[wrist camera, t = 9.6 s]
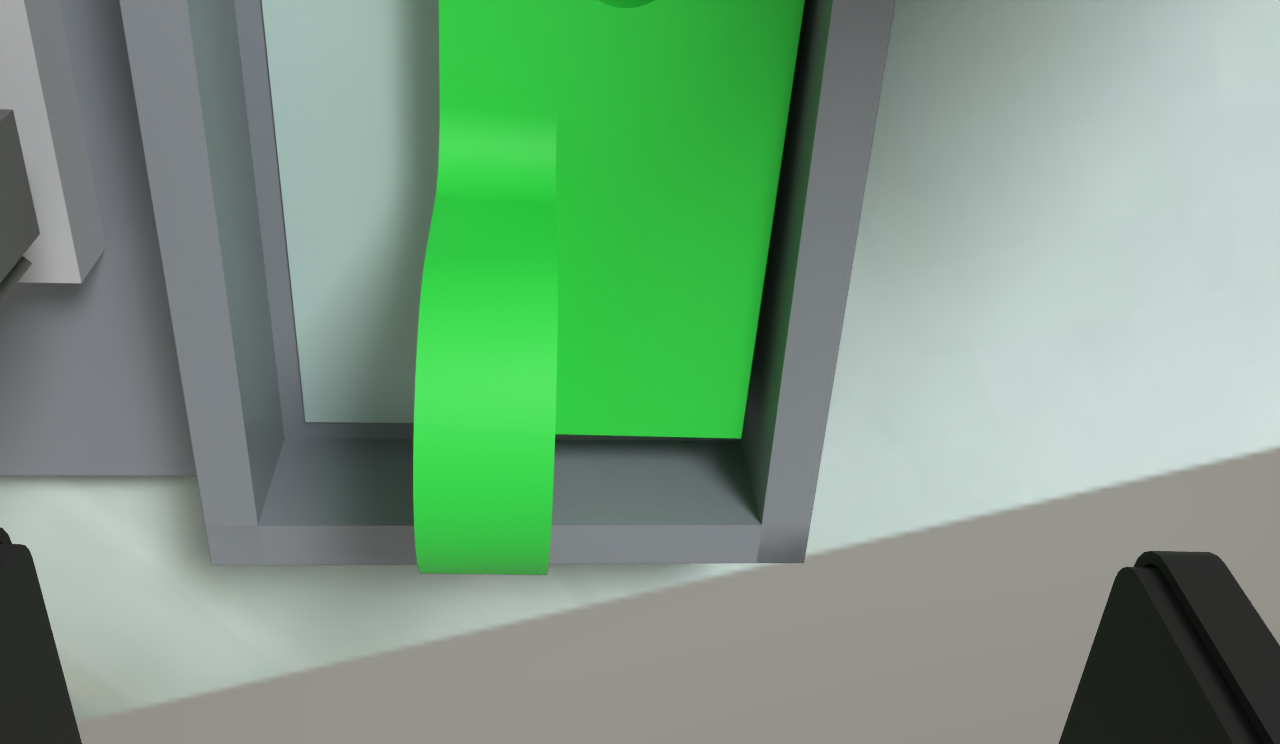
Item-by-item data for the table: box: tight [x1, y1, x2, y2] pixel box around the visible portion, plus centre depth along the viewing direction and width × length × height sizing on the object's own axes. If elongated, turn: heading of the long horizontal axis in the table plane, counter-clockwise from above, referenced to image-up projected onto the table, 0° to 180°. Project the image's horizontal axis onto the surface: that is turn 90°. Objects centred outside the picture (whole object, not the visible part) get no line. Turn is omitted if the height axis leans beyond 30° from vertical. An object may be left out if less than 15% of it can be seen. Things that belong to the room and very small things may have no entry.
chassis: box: [0, 0, 895, 565], centre depth 21 cm, size 21×17×5 cm
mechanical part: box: [413, 0, 805, 575], centre depth 20 cm, size 12×6×8 cm, turn 176°
